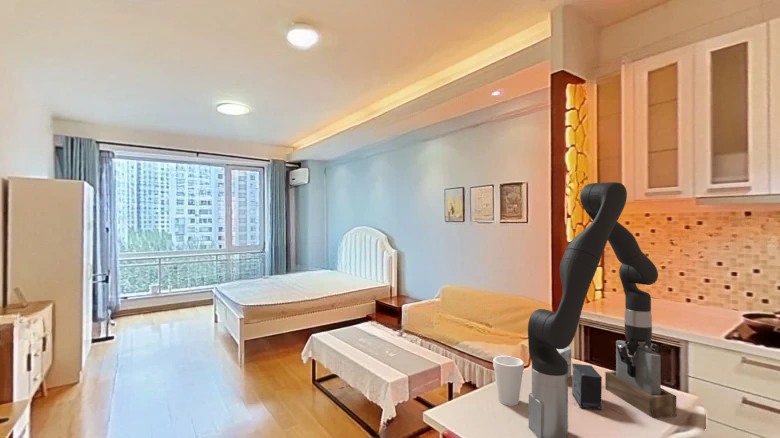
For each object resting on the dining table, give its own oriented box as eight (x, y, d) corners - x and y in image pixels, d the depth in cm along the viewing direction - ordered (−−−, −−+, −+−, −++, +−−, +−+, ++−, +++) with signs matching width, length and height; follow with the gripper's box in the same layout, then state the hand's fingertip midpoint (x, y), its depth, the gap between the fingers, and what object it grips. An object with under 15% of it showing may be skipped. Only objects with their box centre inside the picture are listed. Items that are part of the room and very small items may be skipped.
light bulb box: (554, 370, 150) (554, 343, 150) (572, 376, 144) (572, 347, 144) (540, 377, 143) (540, 348, 143) (558, 383, 138) (558, 353, 138)
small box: (603, 411, 118) (603, 376, 118) (580, 408, 119) (580, 375, 119) (592, 395, 128) (592, 364, 128) (571, 394, 129) (571, 362, 129)
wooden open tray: (652, 417, 113) (652, 397, 114) (605, 388, 133) (605, 371, 133) (676, 416, 115) (676, 396, 115) (625, 387, 134) (625, 370, 135)
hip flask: (614, 391, 131) (614, 333, 132) (624, 390, 132) (624, 332, 132) (654, 414, 116) (654, 347, 116) (665, 412, 117) (665, 347, 117)
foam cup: (487, 400, 124) (487, 360, 124) (502, 391, 130) (502, 353, 131) (514, 411, 117) (514, 368, 117) (528, 401, 123) (529, 361, 124)
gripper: (627, 327, 120) (627, 382, 119) (667, 325, 122) (667, 379, 121) (610, 321, 127) (610, 372, 127) (647, 319, 129) (648, 370, 129)
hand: (638, 375), depth 124 cm, fingers closed on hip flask, 4 cm apart
